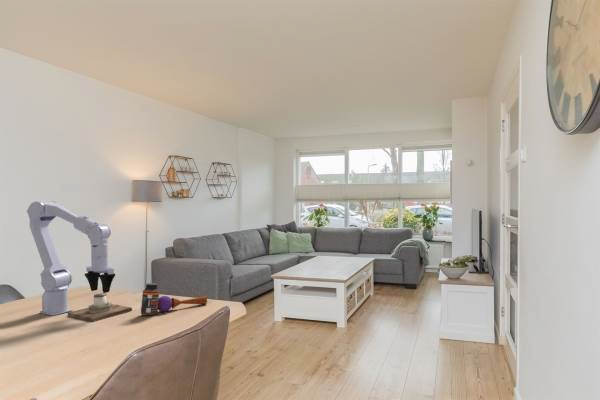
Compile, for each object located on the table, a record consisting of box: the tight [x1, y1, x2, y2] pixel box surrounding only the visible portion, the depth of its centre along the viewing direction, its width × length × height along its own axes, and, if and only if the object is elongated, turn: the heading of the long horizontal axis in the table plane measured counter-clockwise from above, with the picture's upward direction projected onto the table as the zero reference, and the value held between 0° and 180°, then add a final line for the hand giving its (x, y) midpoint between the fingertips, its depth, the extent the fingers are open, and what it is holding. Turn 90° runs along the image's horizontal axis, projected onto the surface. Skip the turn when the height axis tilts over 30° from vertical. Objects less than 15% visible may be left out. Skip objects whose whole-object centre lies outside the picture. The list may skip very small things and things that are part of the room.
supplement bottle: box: [140, 282, 160, 316], centre depth 150 cm, size 6×6×11 cm
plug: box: [93, 292, 107, 307], centre depth 153 cm, size 4×4×6 cm
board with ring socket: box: [67, 301, 133, 322], centre depth 153 cm, size 16×16×3 cm
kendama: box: [158, 295, 208, 313], centre depth 158 cm, size 6×6×20 cm
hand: (100, 291), depth 153 cm, fingers open, 7 cm apart
